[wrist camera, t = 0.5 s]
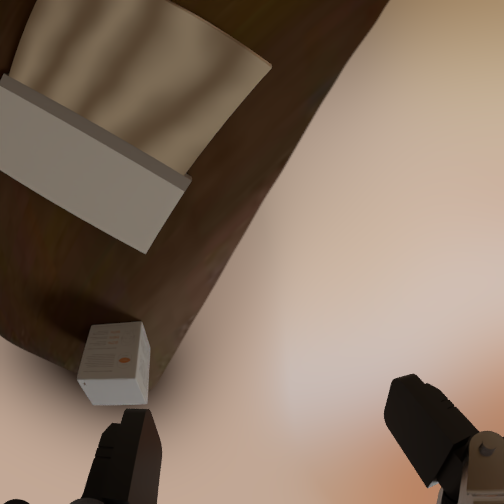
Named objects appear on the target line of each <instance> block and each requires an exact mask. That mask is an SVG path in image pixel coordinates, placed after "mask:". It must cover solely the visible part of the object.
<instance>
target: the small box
mask: <svg viewBox="0 0 504 504" xmlns="http://www.w3.org/2000/svg"><path fill="white" fill-rule="evenodd" d="M149 363H150V345H149V342H148V339H147V336H146V333H145V330H144V326H143V323H142V321H138V322H127V323H113V324H100V325H92V326H91V328H90V331H89V335H88V338H87V342H86V345H85V349H84V353H83V356H82V360H81V364H80V367H79V371H78V376H77V380H78V382H79V384H80V385H81V387H82V389H83V390H84V392H85V394H86V395H87V397H88V398H89V400H90V401H91V403H92V404H93V405H133V404H135V405H136V404H147V403H148V380H149Z"/></svg>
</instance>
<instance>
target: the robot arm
mask: <svg viewBox="0 0 504 504" xmlns="http://www.w3.org/2000/svg"><path fill="white" fill-rule="evenodd" d="M384 419H385V423H386V425H387V427H388V429H389V430H390V431H391V433H392V435H393V436H394V438H395V439H396V441H397V442H398V444H399V445H400V447H401V448H402V450H403V452H404V453H405V454H406V456H407V458H408V459H409V461H410V462H411V464H412V465H413V467H414V468H415V470H416V471H417V473H418V475H419V476H420V478H421V479H422V481H423V482H424V484H425V485H426V487H427V488H429V487H432V486H433V485H436V484H438V483H439V484H440V485H441V489H440V491H439V495H438V500H437V504H504V437H501V436H500V435H499V434H497V433H494V432H492V431H483V432H479V431H478V430H477V429H476V428H475V427H474V426H473V425H472V423H471V422H470V421H469V420H468V419H467V418H466V417H465V416H464V415H463V414H462V413H461V412H460V411H459V410H458V409H457V407H454V404H452V402H451V401H450V400H448V399H447V397H446V396H445V395H444V394H443V393H442V392H441V391H440V390H439V389H438V388H436V387H434V386H432V385H430V384H428V383H426V384H424V383H423V382H422V381H421V380H420V378H419V377H418V376H417V375H415V374H410V375H406V376H402V377H399V378H396V379H394V380H393V381H392V383H391V386H390V390H389V395H388V398H387V402H386V406H385V410H384ZM161 460H162V447H161V441H160V438H159V435H158V432H157V429H156V426H155V423H154V420H153V417H152V414H151V412H150V410H149V409H126V410H125V411H124V414H123V418H122V421H121V424H117V423H112V424H111V425H110V426H109V427H108V428H107V429H106V430H105V431H104V432H103V433H102V436H101V439H100V442H99V445H98V448H97V451H96V454H95V458H94V460H93V463H92V466H91V469H90V473H89V476H88V479H87V483H86V486H85V489H84V493H83V495H82V497H81V499H77V500H75V501H73V502H71V503H70V504H157V496H158V486H159V477H160V468H161ZM4 504H29V503H28V502H26V501H24V500H19V499H13V500H10V501H7V502H6V503H4Z"/></svg>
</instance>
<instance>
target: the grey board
mask: <svg viewBox="0 0 504 504" xmlns="http://www.w3.org/2000/svg"><path fill="white" fill-rule="evenodd" d="M0 170H1V171H3V172H4V173H6V174H7V175H9V176H11V177H12V178H14V179H15V180H17V181H19V182H20V183H22V184H23V185H25V186H27V187H28V188H30V189H32V190H33V191H35V192H37V193H38V194H40V195H42V196H43V197H45V198H47V199H48V200H50V201H52V202H53V203H55V204H57V205H58V206H60V207H62V208H64V209H65V210H67V211H69V212H71V213H72V214H74V215H76V216H77V217H79V218H81V219H83V220H84V221H86V222H88V223H90V224H92V225H93V226H95V227H97V228H99V229H100V230H102V231H104V232H106V233H108V234H109V235H111V236H113V237H115V238H117V239H119V240H120V241H122V242H124V243H126V244H128V245H130V246H131V247H133V248H135V249H137V250H139V251H141V252H143V253H145V254H146V253H147V251H148V249H149V247H150V246H151V244H152V242H153V241H154V239H155V238H156V236H157V234H158V233H159V231H160V229H161V228H162V226H163V225H164V223H165V221H166V220H167V218H168V217H169V215H170V213H171V212H172V210H173V209H174V207H175V206H176V204H177V202H178V201H179V199H180V198H181V196H182V195H183V193H184V192H185V190H186V189H187V187H188V186H189V184H190V183H191V181H192V177H191V176H190V175H188V174H185V175H184V176H183V175H182V174H180V173H178V172H177V171H175V170H173V169H172V168H170V167H168V166H167V165H165V164H163V163H162V162H160V161H158V160H157V159H155V158H153V157H152V156H150V155H148V154H146V153H145V152H143V151H141V150H140V149H138V148H136V147H135V146H133V145H131V144H129V143H128V142H126V141H124V140H123V139H121V138H119V137H117V136H116V135H114V134H112V133H110V132H109V131H107V130H105V129H104V128H102V127H100V126H98V125H97V124H95V123H93V122H91V121H89V120H88V119H86V118H84V117H82V116H81V115H79V114H77V113H75V112H74V111H72V110H70V109H68V108H66V107H65V106H63V105H61V104H59V103H57V102H56V101H54V100H52V99H50V98H48V97H46V96H45V95H43V94H41V93H39V92H37V91H35V90H34V89H32V88H30V87H28V86H26V85H24V84H22V83H21V82H19V81H17V80H15V79H13V78H11V77H9V74H3V76H2V78H1V80H0Z"/></svg>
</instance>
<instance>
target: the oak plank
mask: <svg viewBox="0 0 504 504" xmlns="http://www.w3.org/2000/svg"><path fill="white" fill-rule="evenodd" d="M271 68H272V65H271V64H270V63H269V62H267V61H266V60H264V59H263V58H262V57H260V56H259V55H257V54H256V53H255V52H253V51H252V50H250V49H249V48H247V47H246V46H245V45H243V44H242V43H240V42H239V41H237V40H236V39H234V38H233V37H231V36H229V35H228V34H226V33H225V32H223V31H222V30H220V29H218V28H217V27H215V26H214V25H212V24H210V23H209V22H207V21H205V20H204V19H202V18H200V17H199V16H197V15H195V14H193V13H192V12H190V11H188V10H186V9H184V8H183V7H181V6H179V5H177V4H175V3H173V2H171V1H170V0H37V1H36V4H35V6H34V8H33V10H32V12H31V15H30V17H29V19H28V22H27V24H26V27H25V29H24V32H23V35H22V37H21V40H20V43H19V45H18V48H17V51H16V54H15V57H14V60H13V63H12V67H11V70H10V73H9V77H11V78H13V79H15V80H17V81H19V82H21V83H22V84H24V85H26V86H28V87H30V88H32V89H34V90H35V91H37V92H39V93H41V94H43V95H45V96H46V97H48V98H50V99H52V100H54V101H56V102H57V103H59V104H61V105H63V106H65V107H66V108H68V109H70V110H72V111H74V112H75V113H77V114H79V115H81V116H82V117H84V118H86V119H88V120H89V121H91V122H93V123H95V124H97V125H98V126H100V127H102V128H104V129H105V130H107V131H109V132H110V133H112V134H114V135H116V136H117V137H119V138H121V139H123V140H124V141H126V142H128V143H129V144H131V145H133V146H135V147H136V148H138V149H140V150H141V151H143V152H145V153H146V154H148V155H150V156H152V157H153V158H155V159H157V160H158V161H160V162H162V163H163V164H165V165H167V166H168V167H170V168H172V169H173V170H175V171H177V172H178V173H180V174H182V175H183V176H184V175H185V174H186V172H187V171H188V169H189V168H190V167H191V165H192V164H193V163H194V161H195V160H196V159H197V157H198V156H199V155H200V153H201V152H202V151H203V150H204V148H205V147H206V146H207V144H208V143H209V142H210V140H211V139H212V138H213V137H214V135H215V134H216V133H217V132H218V130H219V129H220V128H221V127H222V125H223V124H224V123H225V122H226V120H227V119H228V118H229V117H230V116H231V114H232V113H233V112H234V111H235V109H236V108H237V107H238V106H239V105H240V104H241V102H242V101H243V100H244V99H245V98H246V96H247V95H248V94H249V93H250V92H251V91H252V89H253V88H254V87H255V86H256V85H257V84H258V83H259V81H260V80H261V79H262V78H263V77H264V76H265V75H266V74H267V73H268V71H269V70H270V69H271Z"/></svg>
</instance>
